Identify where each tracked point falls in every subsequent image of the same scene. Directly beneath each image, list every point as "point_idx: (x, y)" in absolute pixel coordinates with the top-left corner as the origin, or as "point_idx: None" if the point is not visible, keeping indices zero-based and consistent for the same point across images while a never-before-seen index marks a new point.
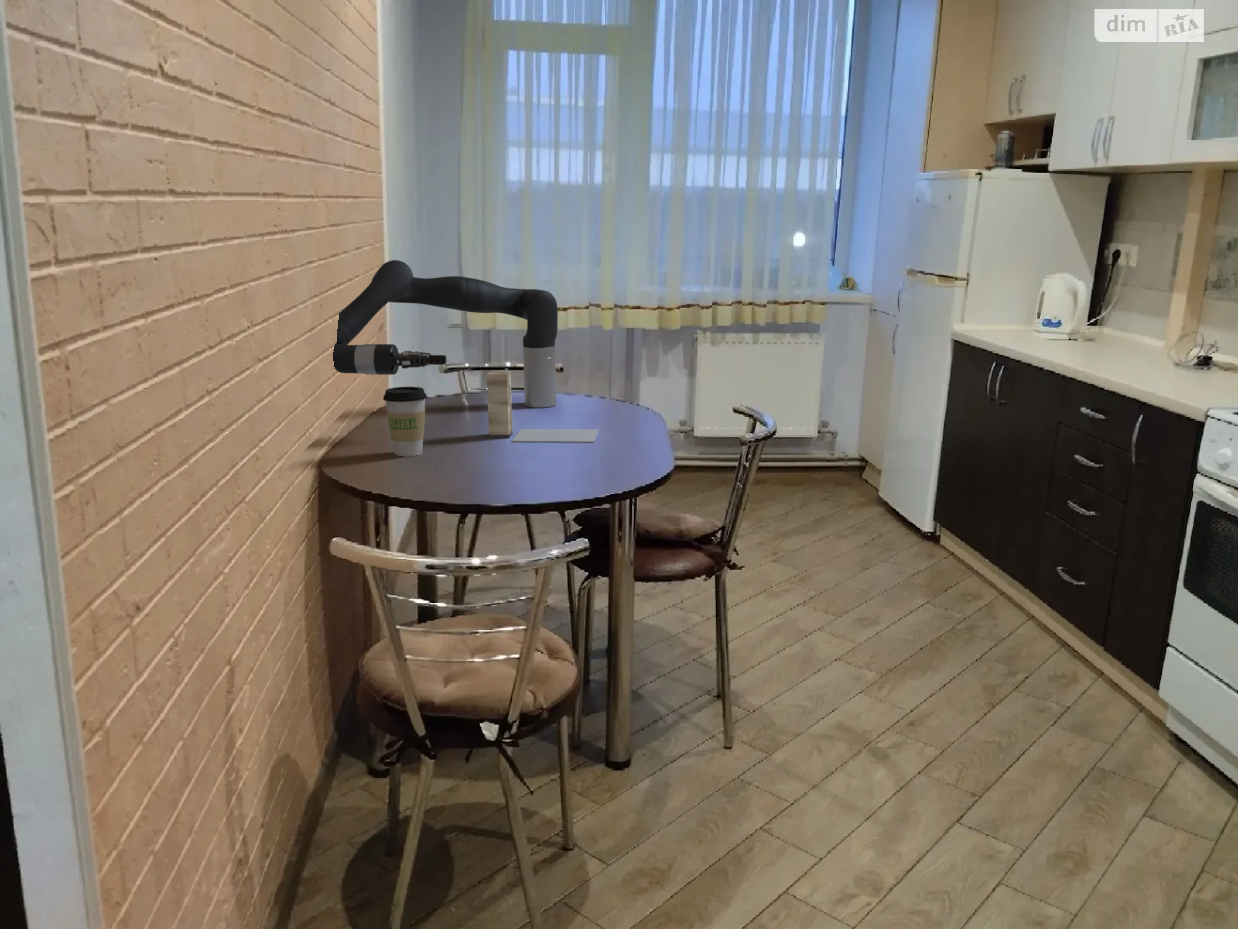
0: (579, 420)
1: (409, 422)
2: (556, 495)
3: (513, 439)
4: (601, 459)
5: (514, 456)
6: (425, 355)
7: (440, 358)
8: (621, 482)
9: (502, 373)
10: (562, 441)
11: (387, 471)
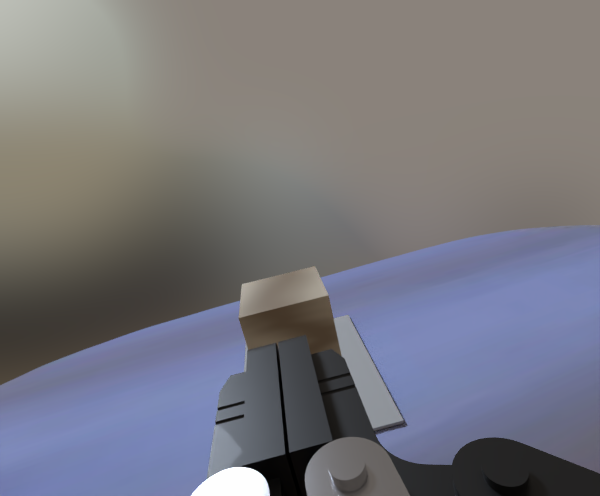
0: (134, 400)
1: None
2: None
3: (386, 424)
4: (456, 278)
5: (543, 358)
6: (375, 489)
7: (340, 363)
8: (555, 235)
9: (305, 275)
10: (363, 344)
11: None
